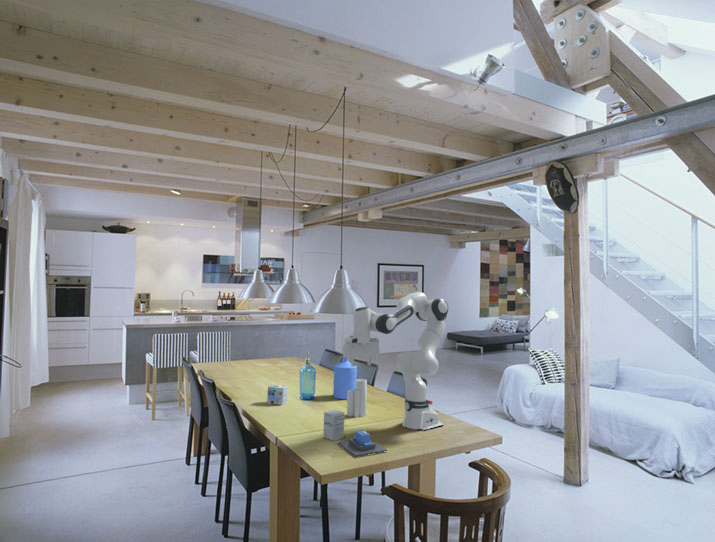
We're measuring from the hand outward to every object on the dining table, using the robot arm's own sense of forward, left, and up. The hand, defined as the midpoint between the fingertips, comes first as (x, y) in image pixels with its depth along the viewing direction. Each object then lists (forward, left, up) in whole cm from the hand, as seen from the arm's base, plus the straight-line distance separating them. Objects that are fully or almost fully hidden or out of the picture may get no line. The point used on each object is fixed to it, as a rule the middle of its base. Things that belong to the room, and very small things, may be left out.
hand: (361, 365), depth 231 cm
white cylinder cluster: (-13, -27, -34) cm, 45 cm away
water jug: (-26, -69, -34) cm, 81 cm away
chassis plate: (+10, +21, -34) cm, 41 cm away
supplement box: (+16, +3, -34) cm, 38 cm away
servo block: (+10, +21, -33) cm, 40 cm away
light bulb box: (+21, -70, -34) cm, 81 cm away
